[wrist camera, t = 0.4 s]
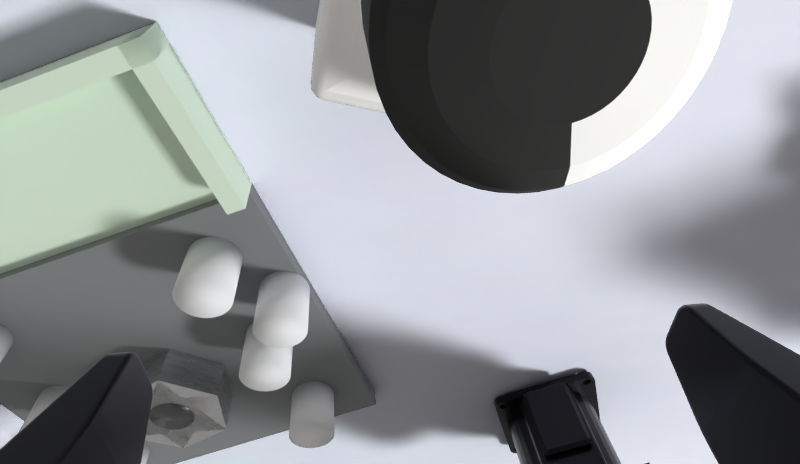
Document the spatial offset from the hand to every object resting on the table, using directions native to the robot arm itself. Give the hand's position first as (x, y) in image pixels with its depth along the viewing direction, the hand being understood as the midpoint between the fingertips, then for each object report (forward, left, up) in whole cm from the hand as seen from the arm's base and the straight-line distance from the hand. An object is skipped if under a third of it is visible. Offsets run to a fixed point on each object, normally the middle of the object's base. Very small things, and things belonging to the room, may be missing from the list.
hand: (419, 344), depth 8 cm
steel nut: (-12, +15, -13) cm, 24 cm away
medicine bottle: (+3, -4, -14) cm, 15 cm away
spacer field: (-7, +15, -14) cm, 22 cm away
